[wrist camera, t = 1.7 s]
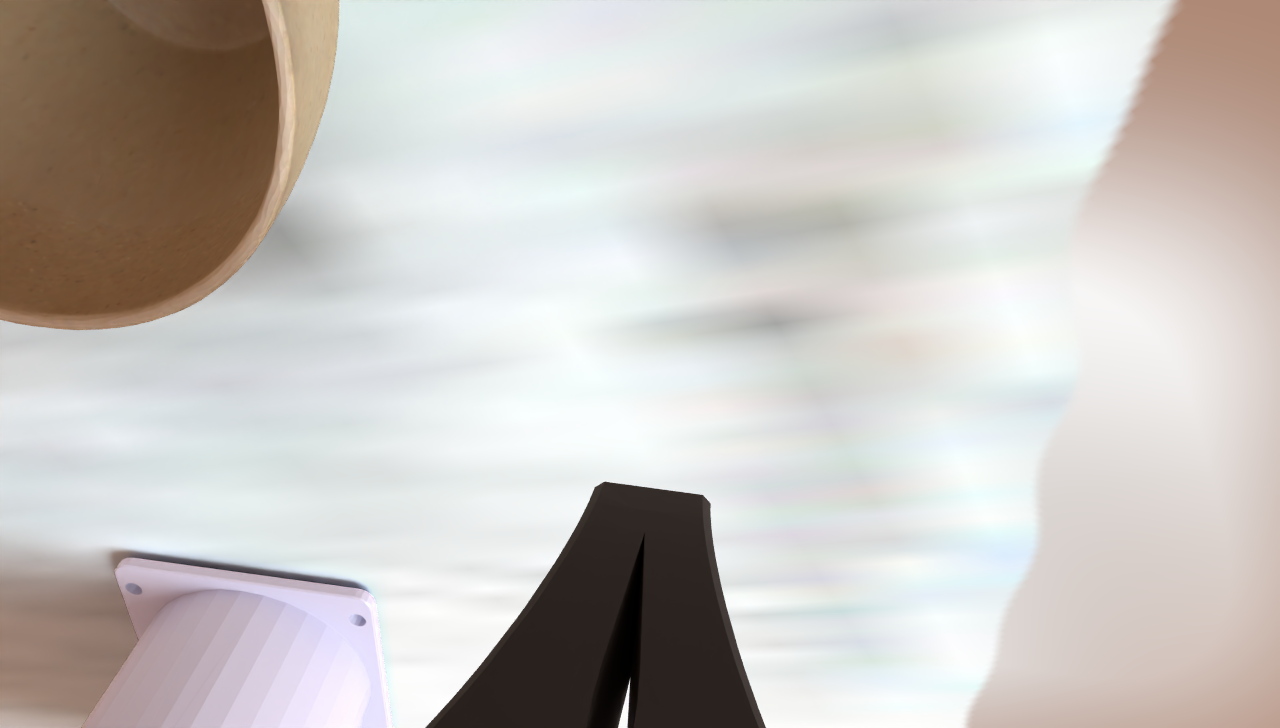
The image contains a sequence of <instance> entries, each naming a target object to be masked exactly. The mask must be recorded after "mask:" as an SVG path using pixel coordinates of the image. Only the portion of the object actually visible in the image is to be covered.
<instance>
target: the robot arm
mask: <svg viewBox="0 0 1280 728" xmlns="http://www.w3.org/2000/svg"><path fill="white" fill-rule="evenodd" d="M115 576H116V579H117V582H118V584H119V587H120V590H121V593H122V596H123V599H124V601H125V604H126V607H127V610H128V613H129V615H130V618H131V621H132V624H133V627H134V629H135V632H136V635H137V638H138V643H137V644H136V646H135V647H134V649H133V650H132V652H131V653H130V655H129V656H128V658H127V659H126V661H125V662H124V664H123V665H122V667H121V668H120V670H119V671H118V673H117V674H116V676H115V677H114V679H113V680H112V682H111V683H110V685H109V686H108V688H107V689H106V691H105V692H104V694H103V695H102V697H101V698H100V700H99V701H98V703H97V704H96V706H95V707H94V709H93V710H92V712H91V713H90V715H89V717H88V718H87V720H86V721H85V723H84V724H83V726H82V727H81V728H393V722H392V715H391V707H390V700H389V693H388V685H387V678H386V671H385V663H384V656H383V649H382V641H381V634H380V627H379V620H378V612H377V605H376V601H375V598H374V597H373V596H372V595H371V594H370V593H369V592H367V591H365V590H362V589H357V588H350V587H343V586H336V585H328V584H321V583H314V582H307V581H299V580H292V579H285V578H278V577H270V576H263V575H256V574H249V573H241V572H234V571H227V570H219V569H212V568H205V567H198V566H190V565H183V564H176V563H169V562H161V561H154V560H147V559H140V558H125V559H122V560H121V562H120V563H119V564H118V566H117V567H116V569H115ZM629 681H630V693H629V711H628V728H766V727H765V724H764V722H763V719H762V717H761V714H760V711H759V709H758V706H757V703H756V700H755V697H754V695H753V692H752V689H751V686H750V683H749V680H748V678H747V675H746V672H745V669H744V666H743V662H742V659H741V656H740V653H739V650H738V647H737V643H736V639H735V636H734V632H733V629H732V625H731V622H730V618H729V615H728V611H727V608H726V604H725V600H724V596H723V591H722V587H721V583H720V578H719V573H718V568H717V563H716V558H715V552H714V546H713V538H712V530H711V517H710V502H709V501H708V500H707V499H706V498H705V497H704V496H703V495H698V494H691V493H684V492H676V491H669V490H662V489H654V488H647V487H639V486H632V485H625V484H617V483H610V482H603V483H602V484H600V485H598V486H596V487H595V488H594V491H593V493H592V496H591V498H590V501H589V503H588V505H587V507H586V509H585V511H584V513H583V515H582V517H581V519H580V521H579V523H578V525H577V526H576V528H575V530H574V532H573V533H572V535H571V537H570V539H569V540H568V542H567V544H566V545H565V547H564V549H563V550H562V552H561V554H560V555H559V557H558V559H557V560H556V562H555V563H554V565H553V566H552V568H551V569H550V571H549V572H548V574H547V575H546V577H545V578H544V580H543V581H542V583H541V584H540V586H539V587H538V589H537V590H536V592H535V593H534V595H533V596H532V598H531V599H530V601H529V602H528V604H527V605H526V606H525V608H524V609H523V611H522V612H521V613H520V615H519V616H518V617H517V619H516V620H515V621H514V623H513V624H512V625H511V627H510V628H509V629H508V630H507V632H506V633H505V634H504V636H503V637H502V638H501V640H500V641H499V642H498V643H497V645H496V646H495V647H494V649H493V650H492V651H491V652H490V654H489V655H488V656H487V658H486V659H485V660H484V662H483V663H482V664H481V665H480V666H479V668H478V669H477V670H476V671H475V672H474V674H473V675H472V676H471V677H470V678H469V680H468V681H467V682H466V683H465V684H464V685H463V687H462V688H461V689H460V690H459V691H458V692H457V694H456V695H455V696H454V697H453V698H452V699H451V700H450V701H449V703H448V704H447V705H446V706H445V707H444V708H443V709H442V710H441V711H440V712H439V714H438V715H437V716H436V717H435V718H434V719H433V720H432V721H431V722H430V723H429V724H428V726H427V727H426V728H618V725H619V721H620V717H621V713H622V709H623V705H624V701H625V697H626V693H627V689H628V685H629Z"/></svg>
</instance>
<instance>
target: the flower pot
mask: <svg viewBox="0 0 1280 728" xmlns="http://www.w3.org/2000/svg"><path fill="white" fill-rule="evenodd" d="M338 25H339V0H0V320H4V321H9V322H13V323H18V324H25V325H31V326H38V327H48V328H56V329H71V330H91V329H107V328H118V327H125V326H131V325H137V324H140V323H145V322H149V321H153V320H156V319H159V318H162V317H164V316H167V315H170V314H173V313H176V312H178V311H181V310H183V309H185V308H187V307H189V306H191V305H193V304H195V303H197V302H199V301H201V300H202V299H203V298H205V297H206V296H208V295H209V294H210V293H212V292H213V291H214V290H216V289H217V288H218V287H220V286H221V285H222V284H224V283H225V282H226V281H227V280H228V279H229V278H230V277H231V276H232V275H234V274H235V273H236V272H237V271H238V270H239V269H240V268H241V267H242V266H243V264H244V263H245V262H246V261H247V260H248V259H249V258H250V257H251V255H252V254H253V253H254V251H255V250H256V249H257V247H258V246H259V244H260V243H261V241H262V240H263V238H264V237H265V235H266V234H267V232H268V231H269V229H270V228H271V226H272V224H273V223H274V221H275V219H276V217H277V216H278V214H279V212H280V211H281V209H282V207H283V206H284V204H285V202H286V201H287V199H288V197H289V195H290V193H291V191H292V189H293V187H294V185H295V183H296V181H297V179H298V177H299V175H300V172H301V170H302V168H303V166H304V164H305V161H306V159H307V156H308V154H309V151H310V149H311V146H312V143H313V141H314V138H315V135H316V132H317V130H318V127H319V124H320V121H321V118H322V114H323V111H324V108H325V104H326V101H327V97H328V92H329V88H330V83H331V79H332V74H333V69H334V62H335V55H336V49H337V37H338Z"/></svg>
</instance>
